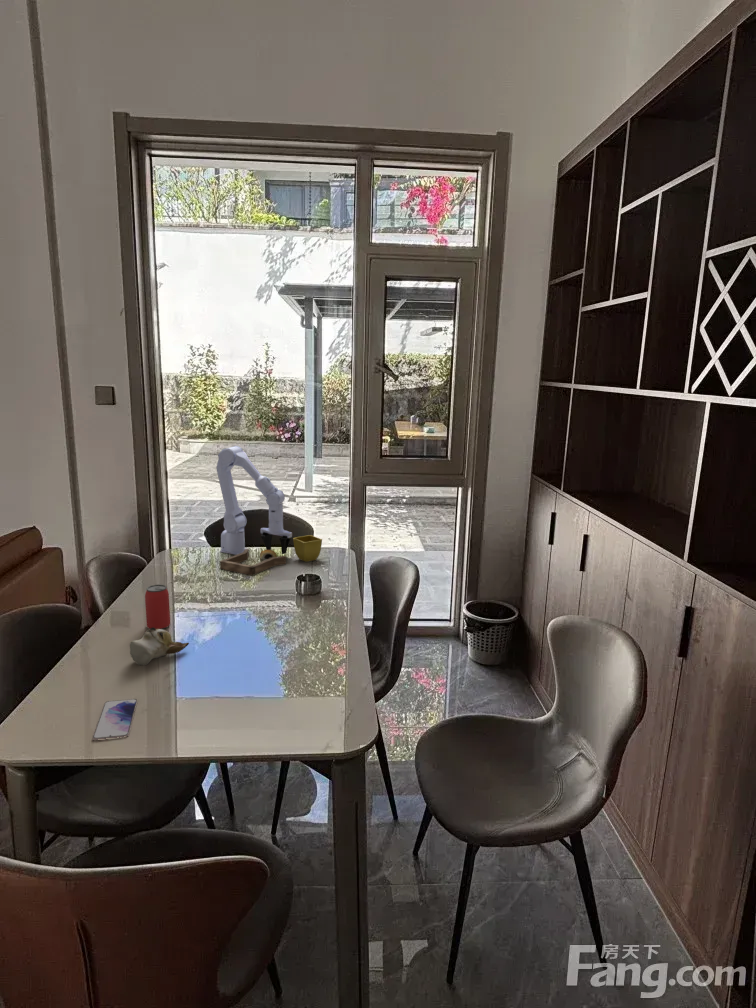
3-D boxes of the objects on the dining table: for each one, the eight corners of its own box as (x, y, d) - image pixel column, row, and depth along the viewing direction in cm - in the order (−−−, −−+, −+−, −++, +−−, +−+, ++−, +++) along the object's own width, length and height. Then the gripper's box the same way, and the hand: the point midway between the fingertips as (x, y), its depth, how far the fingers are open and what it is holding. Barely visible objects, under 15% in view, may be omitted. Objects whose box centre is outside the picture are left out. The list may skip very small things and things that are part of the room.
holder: (215, 567, 234) (215, 560, 233) (246, 555, 250) (246, 548, 249) (257, 576, 224) (257, 568, 224) (287, 563, 240) (286, 556, 240)
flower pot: (310, 555, 252) (310, 534, 250) (322, 560, 245) (322, 539, 243) (292, 559, 246) (292, 537, 244) (304, 564, 240) (304, 542, 238)
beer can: (162, 631, 175) (160, 592, 173) (142, 629, 177) (139, 590, 174) (174, 622, 182) (172, 584, 179) (154, 620, 183) (152, 582, 180)
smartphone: (138, 698, 139) (128, 735, 125) (138, 701, 139) (128, 739, 125) (104, 700, 137) (91, 739, 123) (104, 704, 137) (91, 743, 123)
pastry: (259, 555, 251) (259, 546, 250) (276, 554, 252) (276, 545, 252) (260, 561, 242) (259, 552, 241) (277, 561, 243) (277, 552, 243)
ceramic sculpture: (116, 631, 155) (162, 614, 168) (117, 663, 156) (162, 644, 169) (145, 640, 150) (191, 623, 163) (145, 673, 151) (190, 653, 164)
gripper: (296, 520, 248) (296, 552, 251) (267, 516, 255) (268, 547, 257) (286, 523, 242) (286, 556, 245) (257, 519, 248) (257, 551, 251)
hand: (276, 552), depth 251 cm, fingers open, 7 cm apart
